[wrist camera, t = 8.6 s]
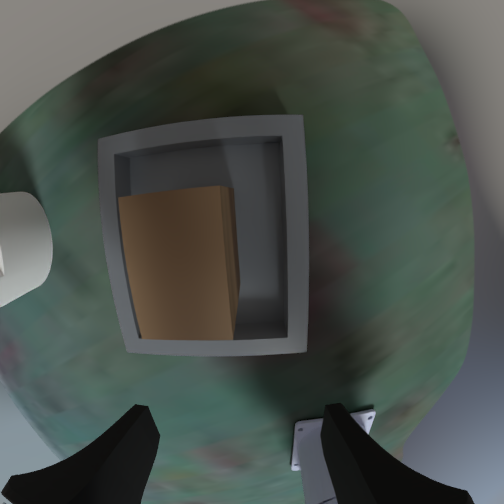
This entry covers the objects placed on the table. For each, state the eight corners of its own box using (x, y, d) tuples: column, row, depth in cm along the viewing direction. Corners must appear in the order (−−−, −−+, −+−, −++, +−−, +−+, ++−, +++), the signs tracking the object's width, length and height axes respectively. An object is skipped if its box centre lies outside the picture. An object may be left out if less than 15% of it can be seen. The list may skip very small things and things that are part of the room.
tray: (299, 329, 19) (306, 351, 16) (142, 332, 19) (127, 352, 16) (294, 127, 16) (303, 114, 13) (119, 145, 16) (97, 139, 13)
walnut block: (233, 188, 16) (219, 185, 9) (240, 283, 17) (233, 339, 11) (170, 194, 16) (118, 197, 9) (180, 286, 17) (142, 339, 11)
